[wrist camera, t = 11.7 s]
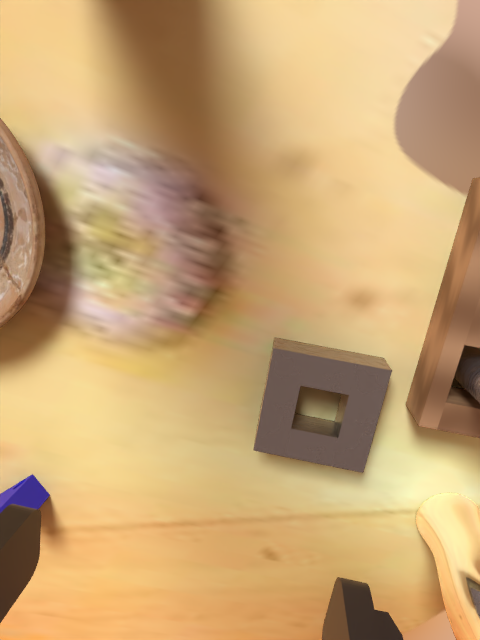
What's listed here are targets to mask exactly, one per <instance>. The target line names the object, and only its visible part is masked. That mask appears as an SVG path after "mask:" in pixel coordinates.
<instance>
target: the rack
mask: <svg viewBox="0 0 480 640" xmlns="http://www.w3.org/2000/svg"><path fill="white" fill-rule="evenodd" d="M464 345H467V346H473V347H478V348H480V177H479V178H473V180H472V183H471V186H470V189H469V193H468V196H467V199H466V203H465V206H464V210H463V213H462V216H461V220H460V223H459V226H458V230H457V233H456V237H455V240H454V243H453V247H452V250H451V253H450V257H449V260H448V263H447V267H446V270H445V274H444V277H443V280H442V284H441V287H440V290H439V294H438V297H437V301H436V304H435V307H434V311H433V314H432V317H431V321H430V324H429V328H428V331H427V334H426V338H425V341H424V344H423V348H422V351H421V355H420V358H419V361H418V365H417V368H416V371H415V375H414V378H413V382H412V385H411V388H410V392H409V395H408V398H407V402H406V406H407V407H408V409H409V411H410V412H411V414H412V416H413V417H414V419H415V421H416V422H417V424H418V426H421V427H426V428H432V429H437V430H442V431H447V432H452V433H457V434H462V435H467V436H472V437H477V438H480V403H479V402H478V401H477V400H476V399H475V398H474V397H473V396H472V395H471V394H470V393H469V392H468V391H467V390H465V389H460V388H454V387H451V385H452V382H453V379H454V376H455V373H456V369H457V366H458V363H459V360H460V357H461V354H462V351H463V348H464Z"/></svg>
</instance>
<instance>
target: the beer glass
mask: <svg viewBox="0 0 480 640" xmlns="http://www.w3.org/2000/svg"><path fill="white" fill-rule="evenodd" d="M416 525H417V528H418V530H419V532H420V534H421V536H422V537H423V539H424V540H425V541H426V543H427V544H428V546H429V547H430V549H431V551H432V553H433V556H434V559H435V562H436V567H437V571H438V577H439V582H440V587H441V592H442V597H443V601H444V605H445V609H446V613H447V616H448V619H449V622H450V624H451V627H452V630H453V633H454V635H455V638H456V640H480V509H479V508H478V506H477V505H476V504H475V503H474V502H473V501H472V500H471V499H470V498H468V497H466V496H464V495H461V494H458V493H441V494H437V495H434V496H432V497H430V498H428V499H427V500H426V501H425V502H423V503H422V505H421V506H420V507H419V509H418V511H417V514H416Z"/></svg>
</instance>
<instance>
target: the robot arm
mask: <svg viewBox="0 0 480 640" xmlns="http://www.w3.org/2000/svg"><path fill="white" fill-rule="evenodd" d="M40 529H41V512H40V510H38V509H34V508H29V507H25V506H20V505H16V504H10V505H8V506H7V507H6V508H5V509H4V510H3V511H2V512H1V513H0V623H1V621H2V620H3V619H4V617H5V616H6V614H7V613H8V611H9V610H10V608H11V607H12V606H13V604H14V603H15V601H16V600H17V598H18V597H19V595H20V594H21V593H22V591H23V590H24V588H25V587H26V585H27V584H28V582H29V581H30V579H31V577H32V576H33V574H34V571H35V569H36V566H37V563H38V560H39V554H40ZM322 640H403V637H402V634H401V633H400V631H399V629H398V628H397V626H396V625H395V623H394V621H393V620H392V618H391V617H390V615H389V613H387V612H383V611H378V610H374V606H373V601H372V597H371V592H370V588H369V586H368V584H367V583H362V582H358V581H353V580H349V579H344V578H340V577H338V578H337V579H336V581H335V585H334V588H333V592H332V595H331V599H330V603H329V606H328V610H327V613H326V617H325V620H324V625H323V633H322Z"/></svg>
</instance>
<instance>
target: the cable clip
mask: <svg viewBox="0 0 480 640" xmlns="http://www.w3.org/2000/svg"><path fill="white" fill-rule="evenodd" d="M49 496H50V495H49V493H48V492H47V491H46V490H45V489H44V487H43V486H42V485H41V484H40V483H39V481H38V480H37V479H36V478H35V477H34V475H33V474H32V475H31V476H29V477H27V478H26V479H24V480H22V481H21V482H19V483H18V484H16V485H14V486H13V487H11V488H9V489H8V490H6V491H5V492H3V493H1V494H0V513H1V512H2V511H3V510H4V509H5V508H6V507H7V506H8V505H10V504H16V505H20V506H25V507H29V508H34V509H39V508H40V507H41V505H42V504H43V503H44V502H45V501H46V499H47V498H48V497H49Z"/></svg>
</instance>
